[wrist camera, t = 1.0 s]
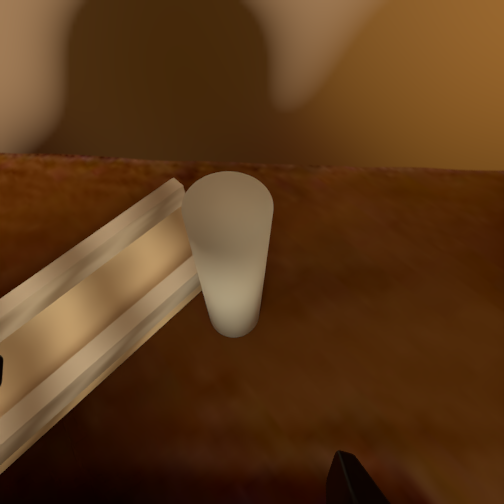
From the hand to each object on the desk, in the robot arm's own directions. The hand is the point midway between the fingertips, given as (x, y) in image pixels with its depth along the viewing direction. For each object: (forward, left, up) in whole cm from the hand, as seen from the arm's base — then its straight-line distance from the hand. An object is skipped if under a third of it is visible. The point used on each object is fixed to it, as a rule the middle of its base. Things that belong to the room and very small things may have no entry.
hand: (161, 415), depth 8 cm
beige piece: (+6, +4, -13) cm, 15 cm away
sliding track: (0, +11, -13) cm, 17 cm away
